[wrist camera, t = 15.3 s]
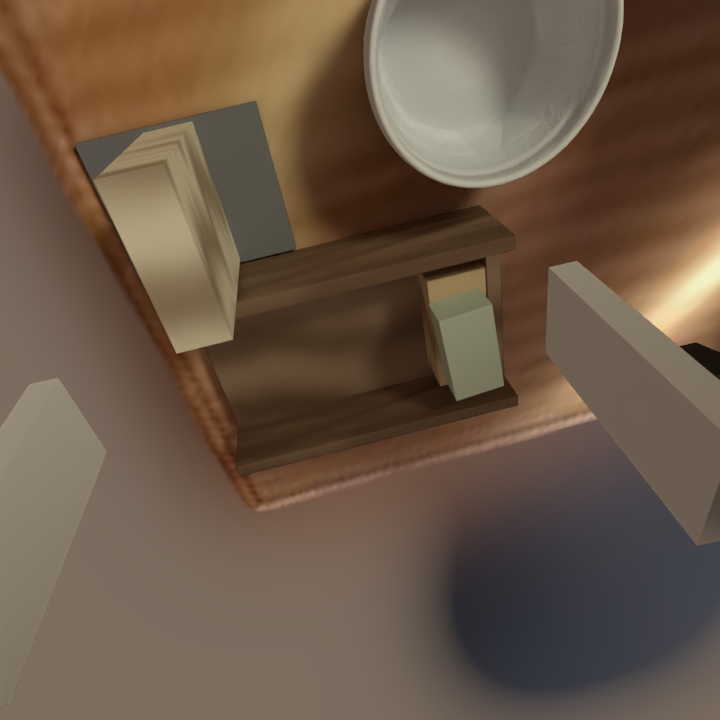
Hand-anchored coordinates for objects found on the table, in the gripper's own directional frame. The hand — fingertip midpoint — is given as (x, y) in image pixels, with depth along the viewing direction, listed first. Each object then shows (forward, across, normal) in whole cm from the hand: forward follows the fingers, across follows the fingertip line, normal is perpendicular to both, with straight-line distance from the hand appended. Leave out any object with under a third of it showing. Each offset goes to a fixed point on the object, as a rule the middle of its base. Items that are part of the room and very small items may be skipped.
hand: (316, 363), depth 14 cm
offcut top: (+19, +9, -13) cm, 25 cm away
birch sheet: (+23, -7, -1) cm, 24 cm away
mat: (+23, -7, -1) cm, 24 cm away
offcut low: (+22, +9, -13) cm, 27 cm away
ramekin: (+24, +11, +4) cm, 27 cm away
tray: (+23, +1, -13) cm, 27 cm away
